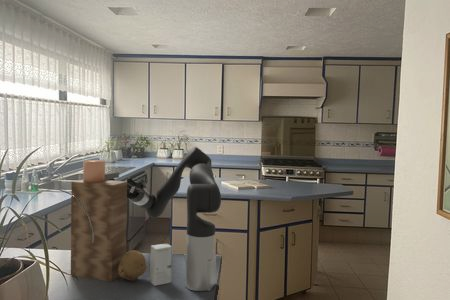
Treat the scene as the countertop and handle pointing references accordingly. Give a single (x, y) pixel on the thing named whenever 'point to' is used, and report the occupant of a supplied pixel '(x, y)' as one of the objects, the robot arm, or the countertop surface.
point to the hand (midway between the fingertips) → (118, 179)
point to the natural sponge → (132, 265)
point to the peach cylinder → (96, 172)
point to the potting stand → (98, 228)
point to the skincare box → (160, 264)
